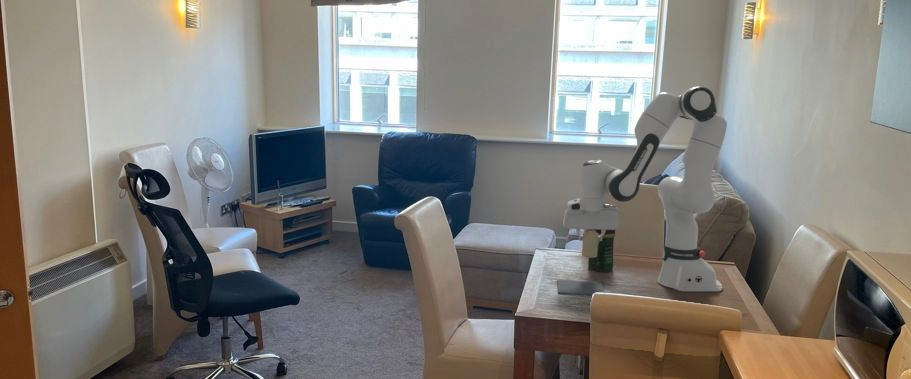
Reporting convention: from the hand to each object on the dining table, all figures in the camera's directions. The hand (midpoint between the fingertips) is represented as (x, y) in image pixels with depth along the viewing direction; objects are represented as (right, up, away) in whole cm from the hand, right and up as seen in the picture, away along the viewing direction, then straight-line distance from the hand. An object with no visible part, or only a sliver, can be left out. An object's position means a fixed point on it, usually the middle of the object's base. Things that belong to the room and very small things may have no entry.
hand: (590, 240), depth 257 cm
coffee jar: (+7, -12, +15) cm, 20 cm away
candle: (0, -6, +1) cm, 6 cm away
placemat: (-5, -17, -9) cm, 20 cm away
